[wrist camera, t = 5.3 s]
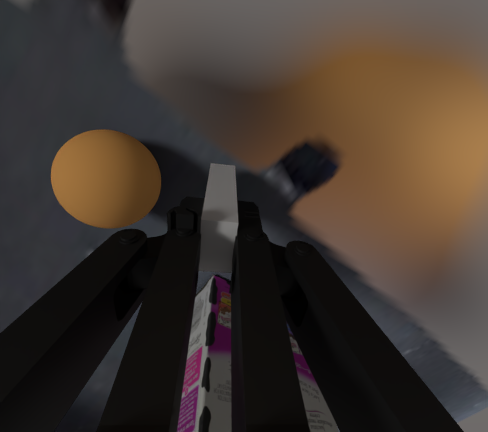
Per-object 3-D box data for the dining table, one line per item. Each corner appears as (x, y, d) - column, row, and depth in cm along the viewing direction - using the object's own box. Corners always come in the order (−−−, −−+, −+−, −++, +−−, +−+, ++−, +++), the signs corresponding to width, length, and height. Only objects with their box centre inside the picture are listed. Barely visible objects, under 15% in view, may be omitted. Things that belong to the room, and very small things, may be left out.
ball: (170, 203, 19) (150, 251, 14) (90, 196, 18) (42, 244, 14) (168, 125, 16) (142, 153, 11) (74, 114, 15) (6, 139, 11)
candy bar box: (185, 304, 25) (124, 632, 11) (212, 271, 23) (183, 622, 8) (277, 341, 28) (323, 621, 14) (308, 315, 26) (397, 612, 12)
